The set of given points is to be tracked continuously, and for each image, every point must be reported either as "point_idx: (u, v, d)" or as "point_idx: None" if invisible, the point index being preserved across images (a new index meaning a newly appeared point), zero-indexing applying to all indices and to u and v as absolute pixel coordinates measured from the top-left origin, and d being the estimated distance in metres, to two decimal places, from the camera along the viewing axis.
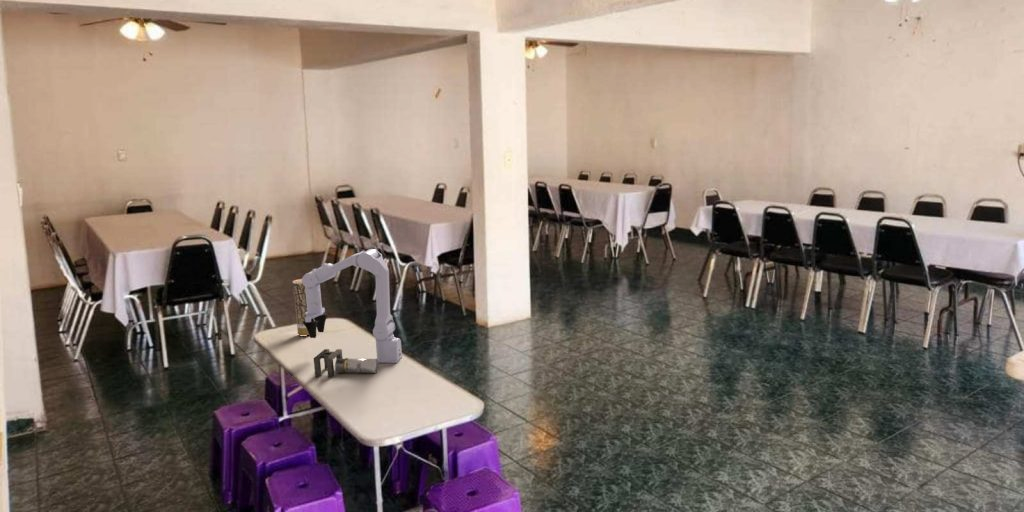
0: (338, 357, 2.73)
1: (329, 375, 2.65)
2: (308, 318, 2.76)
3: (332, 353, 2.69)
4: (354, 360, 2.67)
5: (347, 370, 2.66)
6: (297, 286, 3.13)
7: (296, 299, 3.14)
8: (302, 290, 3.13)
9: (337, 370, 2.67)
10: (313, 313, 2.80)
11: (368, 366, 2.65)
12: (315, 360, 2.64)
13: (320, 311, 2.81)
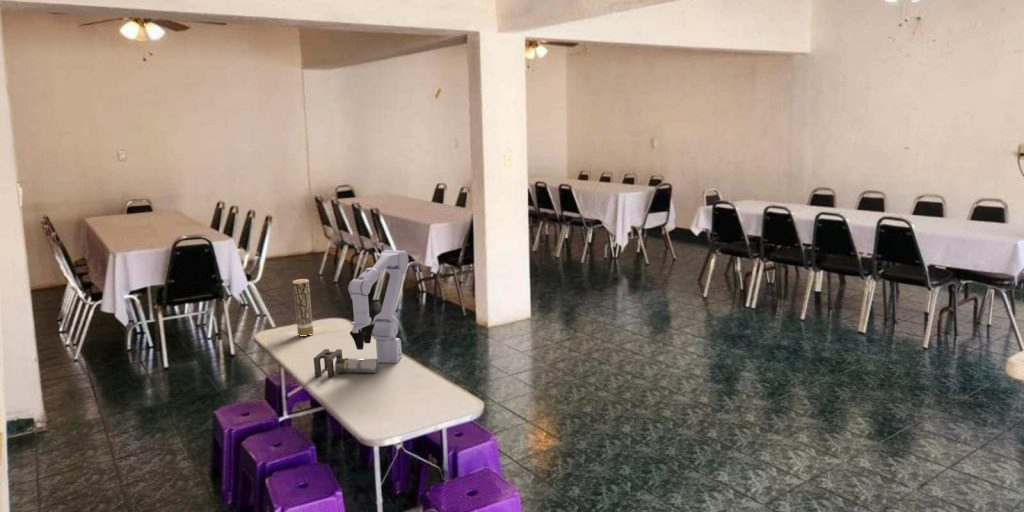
0: (338, 357, 2.73)
1: (329, 375, 2.65)
2: (356, 328, 2.59)
3: (332, 353, 2.69)
4: (354, 360, 2.67)
5: (347, 370, 2.66)
6: (297, 286, 3.13)
7: (296, 299, 3.14)
8: (302, 290, 3.13)
9: (337, 370, 2.67)
10: (360, 323, 2.63)
11: (368, 366, 2.65)
12: (315, 360, 2.64)
13: (368, 321, 2.65)
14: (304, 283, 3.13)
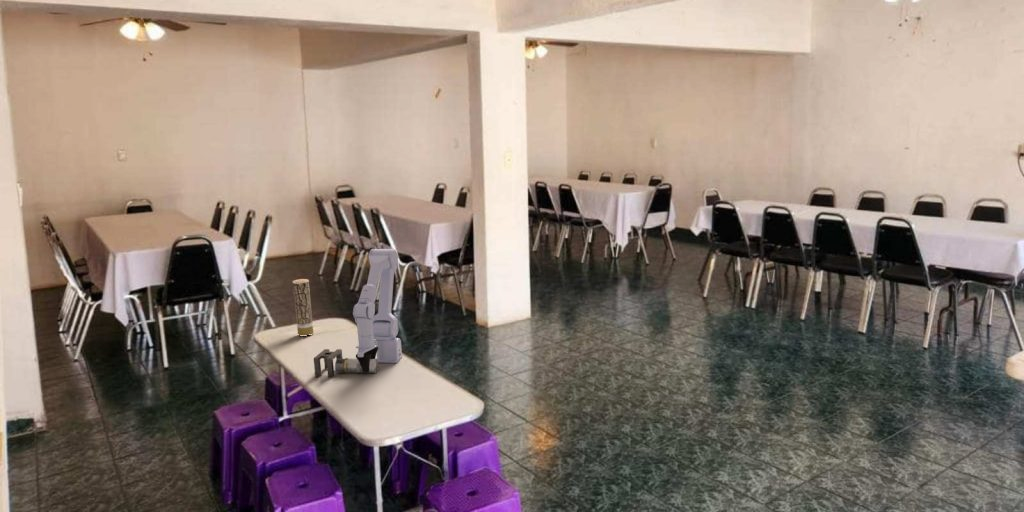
0: (338, 357, 2.73)
1: (329, 375, 2.65)
2: (361, 353, 2.59)
3: (332, 353, 2.69)
4: (354, 360, 2.67)
5: (347, 370, 2.66)
6: (297, 286, 3.13)
7: (296, 299, 3.14)
8: (302, 290, 3.13)
9: (337, 370, 2.67)
10: (365, 347, 2.63)
11: None
12: (315, 360, 2.64)
13: (372, 344, 2.65)
14: (304, 283, 3.13)
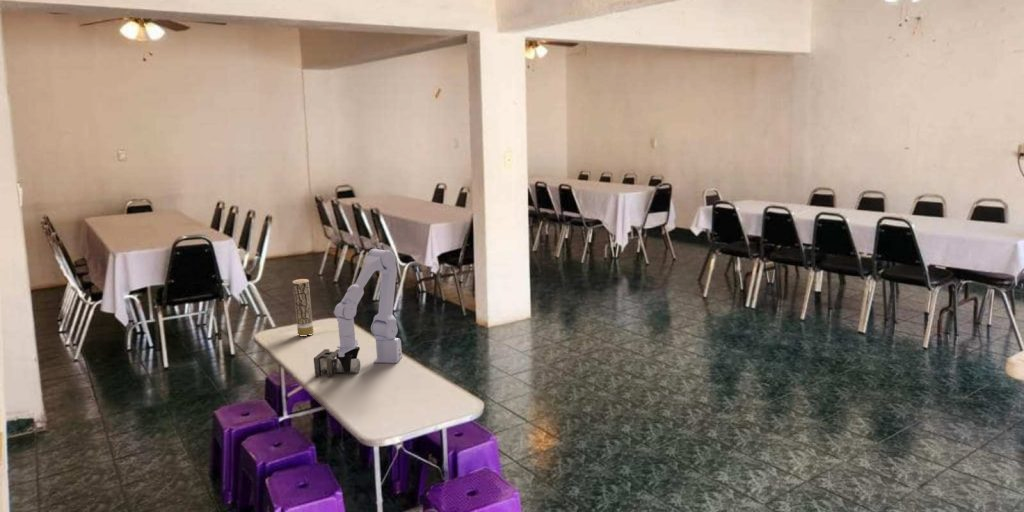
0: None
1: (329, 375, 2.65)
2: (341, 352, 2.60)
3: (332, 353, 2.69)
4: (336, 360, 2.68)
5: None
6: (297, 286, 3.13)
7: (296, 299, 3.14)
8: (302, 290, 3.13)
9: None
10: (346, 347, 2.64)
11: None
12: (315, 360, 2.64)
13: (353, 344, 2.66)
14: (304, 283, 3.13)
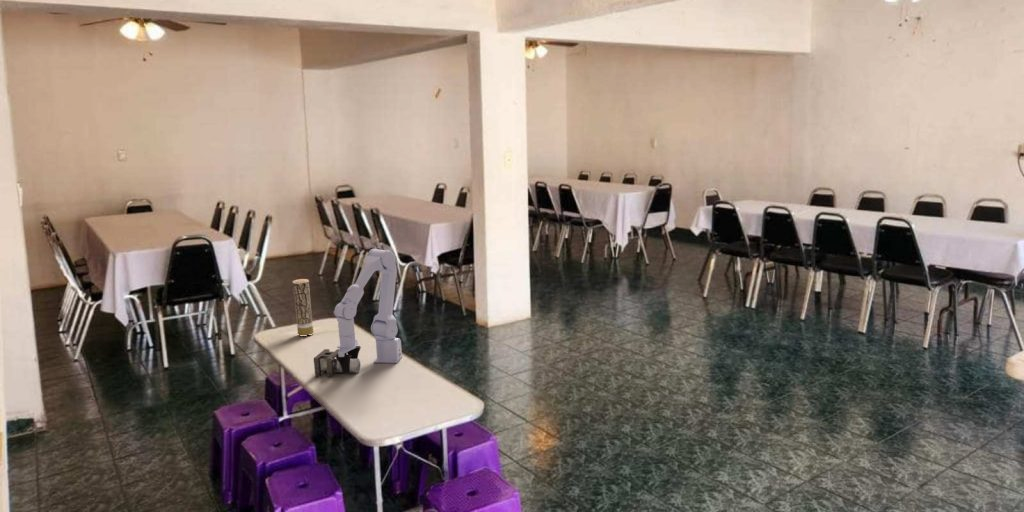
0: None
1: (329, 375, 2.65)
2: (341, 352, 2.60)
3: (332, 353, 2.69)
4: (336, 360, 2.68)
5: None
6: (297, 286, 3.13)
7: (296, 299, 3.14)
8: (302, 290, 3.13)
9: None
10: (346, 347, 2.64)
11: (350, 366, 2.66)
12: (315, 360, 2.64)
13: (353, 344, 2.66)
14: (304, 283, 3.13)
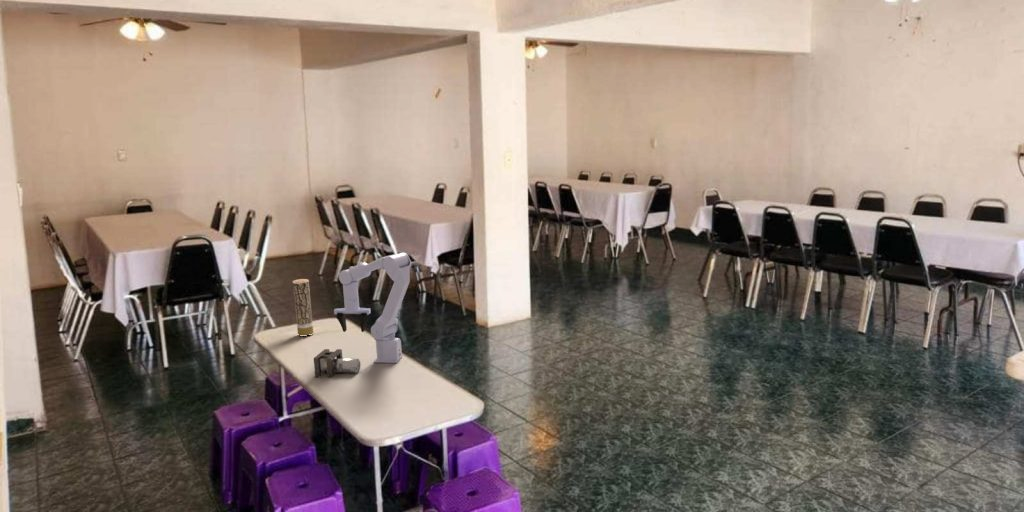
0: (338, 357, 2.73)
1: (329, 375, 2.65)
2: None
3: (332, 353, 2.69)
4: (336, 360, 2.68)
5: None
6: (297, 286, 3.13)
7: (296, 299, 3.14)
8: (302, 290, 3.13)
9: None
10: (344, 308, 2.86)
11: (350, 366, 2.66)
12: (315, 360, 2.64)
13: (347, 309, 2.84)
14: (304, 283, 3.13)
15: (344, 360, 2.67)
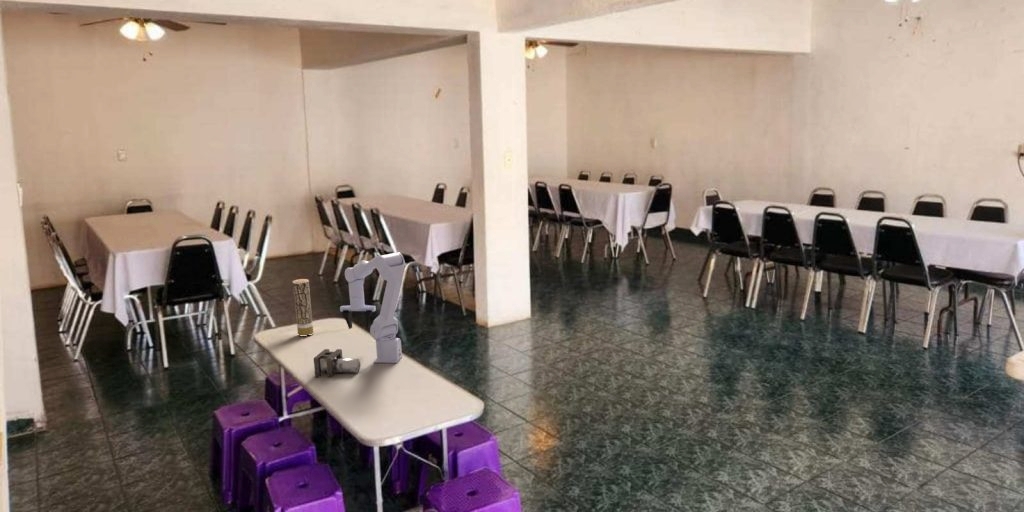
0: (338, 357, 2.73)
1: (329, 375, 2.65)
2: None
3: (332, 353, 2.69)
4: (336, 360, 2.68)
5: None
6: (297, 286, 3.13)
7: (296, 299, 3.14)
8: (302, 290, 3.13)
9: None
10: None
11: (350, 366, 2.66)
12: (315, 360, 2.64)
13: (353, 306, 2.88)
14: (304, 283, 3.13)
15: (344, 360, 2.67)
